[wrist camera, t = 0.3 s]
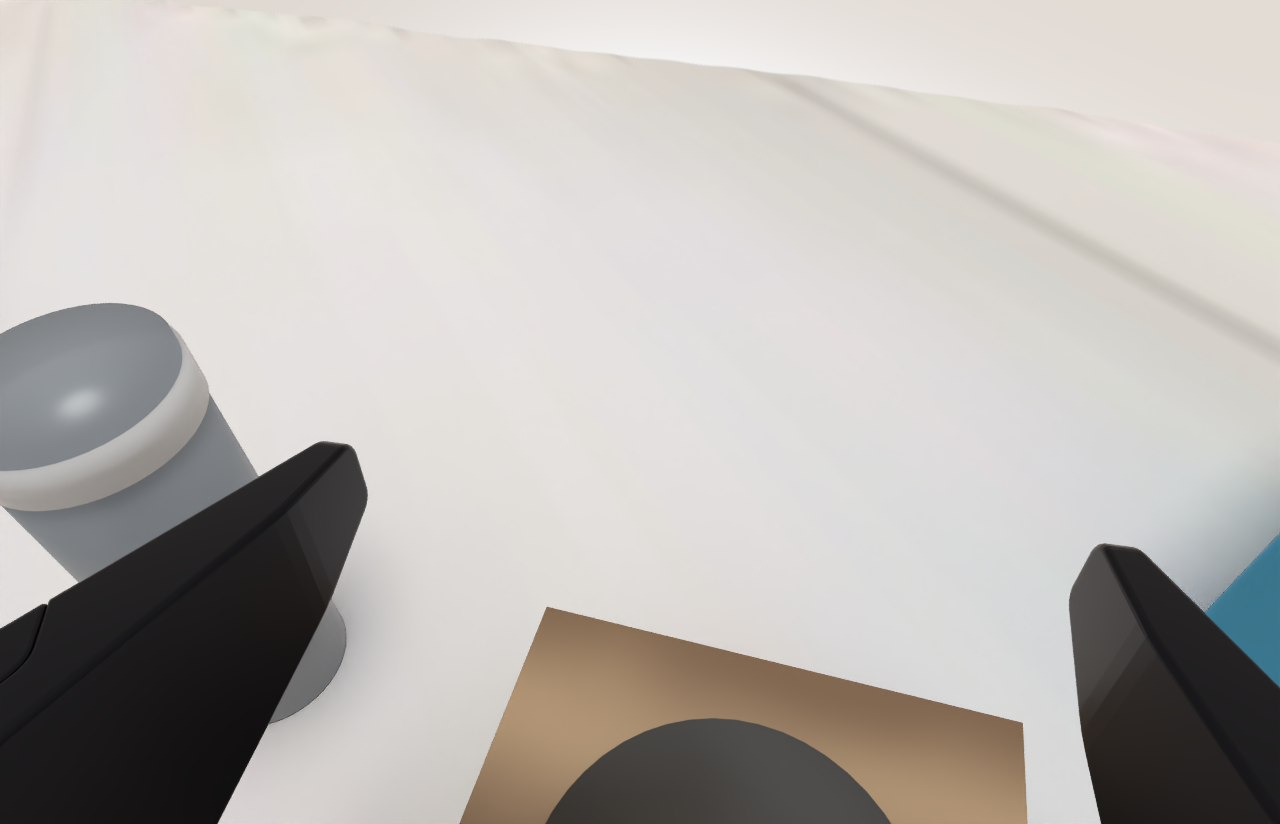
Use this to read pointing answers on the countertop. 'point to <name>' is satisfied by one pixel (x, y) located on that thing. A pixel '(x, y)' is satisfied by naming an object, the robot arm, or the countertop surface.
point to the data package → (1254, 610)
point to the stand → (730, 742)
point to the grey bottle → (122, 449)
